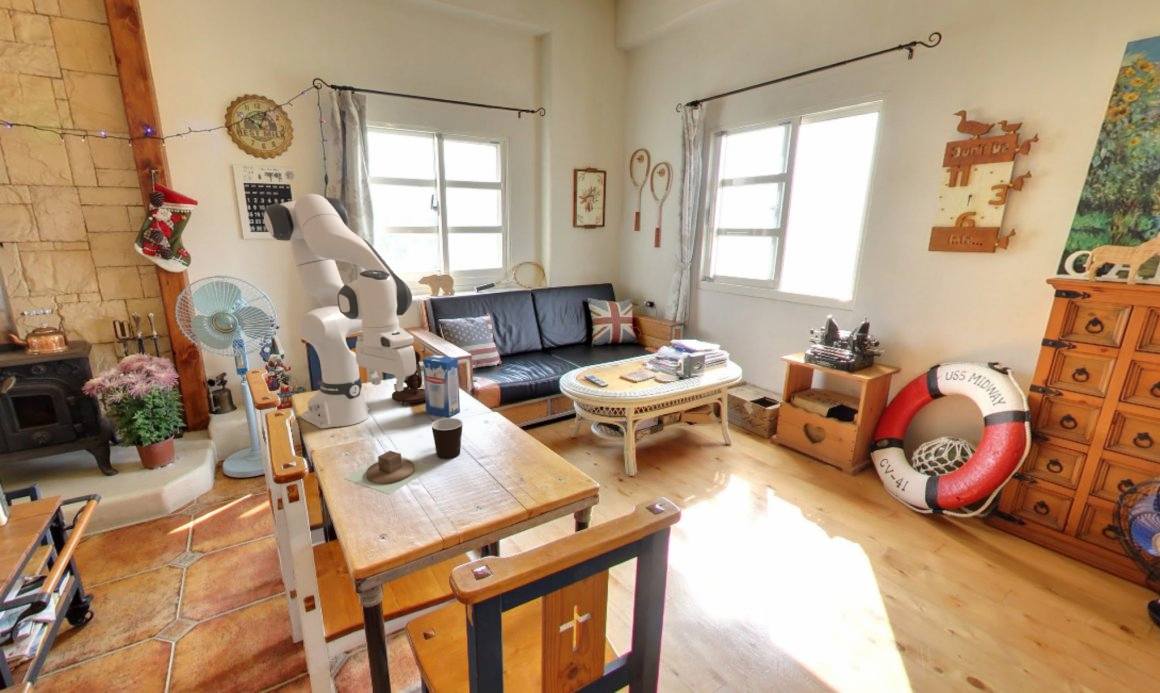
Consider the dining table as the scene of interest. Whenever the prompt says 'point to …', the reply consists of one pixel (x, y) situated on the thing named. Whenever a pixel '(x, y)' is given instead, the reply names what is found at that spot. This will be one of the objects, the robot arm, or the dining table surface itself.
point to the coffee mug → (447, 437)
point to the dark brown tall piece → (411, 386)
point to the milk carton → (441, 386)
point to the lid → (390, 469)
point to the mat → (392, 487)
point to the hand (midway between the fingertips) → (387, 387)
